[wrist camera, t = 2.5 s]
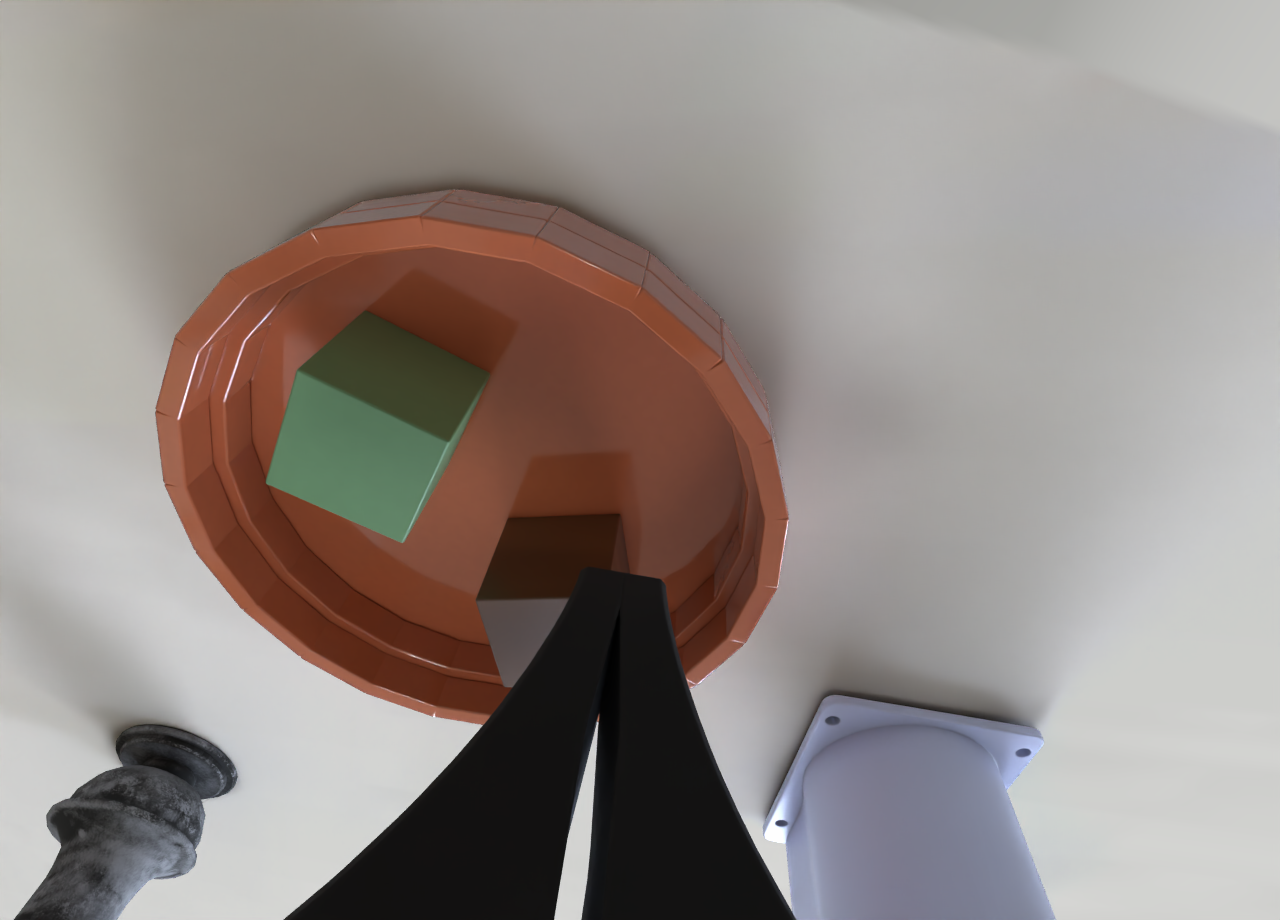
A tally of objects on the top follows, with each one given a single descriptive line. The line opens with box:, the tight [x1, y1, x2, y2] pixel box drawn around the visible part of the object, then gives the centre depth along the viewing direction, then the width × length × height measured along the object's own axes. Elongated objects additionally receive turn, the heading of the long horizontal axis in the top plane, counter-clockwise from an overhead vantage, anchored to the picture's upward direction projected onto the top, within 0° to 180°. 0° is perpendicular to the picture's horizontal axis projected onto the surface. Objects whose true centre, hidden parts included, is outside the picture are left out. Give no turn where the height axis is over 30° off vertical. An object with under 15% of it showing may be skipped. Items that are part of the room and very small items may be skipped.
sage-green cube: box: [266, 311, 490, 543], centre depth 17 cm, size 4×4×4 cm
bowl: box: [155, 189, 789, 725], centre depth 19 cm, size 16×16×3 cm
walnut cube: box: [475, 514, 630, 687], centre depth 20 cm, size 4×4×4 cm
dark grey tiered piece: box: [14, 725, 237, 920], centre depth 26 cm, size 6×6×12 cm
